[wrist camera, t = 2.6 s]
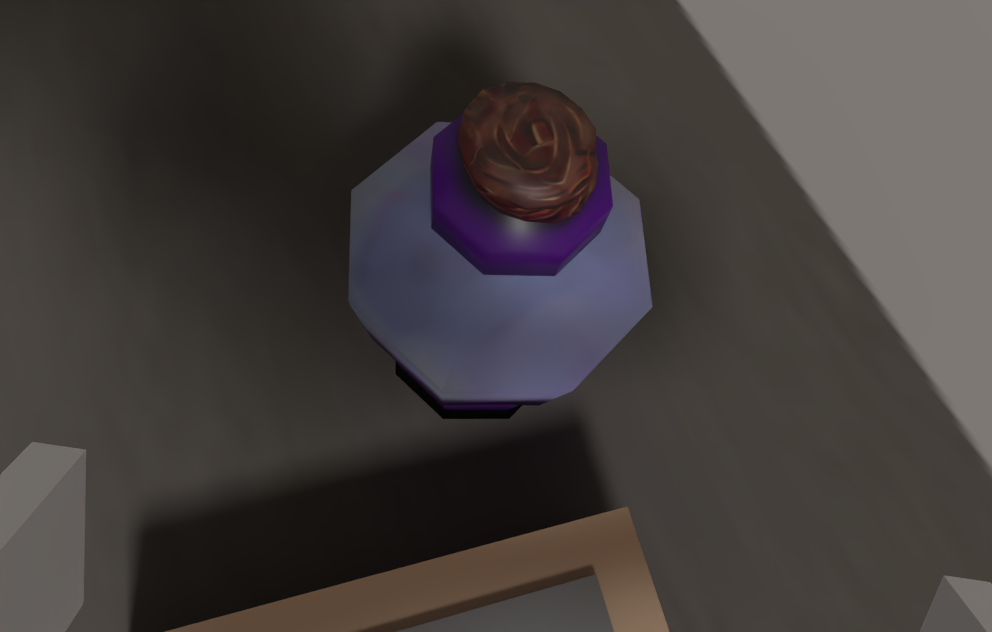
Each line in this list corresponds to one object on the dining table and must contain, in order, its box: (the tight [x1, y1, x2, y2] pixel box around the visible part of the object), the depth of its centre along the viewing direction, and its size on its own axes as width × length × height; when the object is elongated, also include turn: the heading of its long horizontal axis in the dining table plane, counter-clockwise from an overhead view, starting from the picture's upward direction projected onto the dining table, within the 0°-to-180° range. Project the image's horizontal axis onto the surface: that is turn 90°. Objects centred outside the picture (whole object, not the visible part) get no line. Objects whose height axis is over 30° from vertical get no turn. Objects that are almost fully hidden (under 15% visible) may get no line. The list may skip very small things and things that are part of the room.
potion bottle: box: [348, 82, 652, 419], centre depth 25 cm, size 9×9×12 cm
